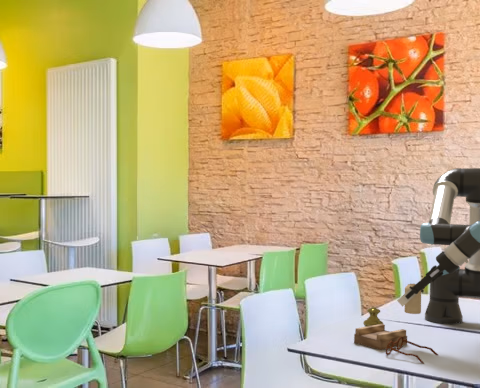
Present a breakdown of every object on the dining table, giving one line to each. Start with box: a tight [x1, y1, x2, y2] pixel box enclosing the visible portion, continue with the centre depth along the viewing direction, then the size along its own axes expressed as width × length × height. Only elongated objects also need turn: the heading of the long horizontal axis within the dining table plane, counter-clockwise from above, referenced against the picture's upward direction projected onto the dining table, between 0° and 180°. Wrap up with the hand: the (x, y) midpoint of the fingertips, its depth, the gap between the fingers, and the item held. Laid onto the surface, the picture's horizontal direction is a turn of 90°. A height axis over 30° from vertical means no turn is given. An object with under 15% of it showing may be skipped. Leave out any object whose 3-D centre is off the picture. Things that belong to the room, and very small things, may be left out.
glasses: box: [385, 336, 439, 364], centre depth 189 cm, size 13×13×5 cm
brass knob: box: [363, 306, 384, 327], centre depth 218 cm, size 7×7×10 cm
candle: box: [404, 283, 422, 315], centre depth 202 cm, size 6×6×10 cm
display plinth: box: [353, 323, 408, 351], centre depth 204 cm, size 14×12×5 cm
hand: (402, 301), depth 204 cm, fingers closed on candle, 5 cm apart
